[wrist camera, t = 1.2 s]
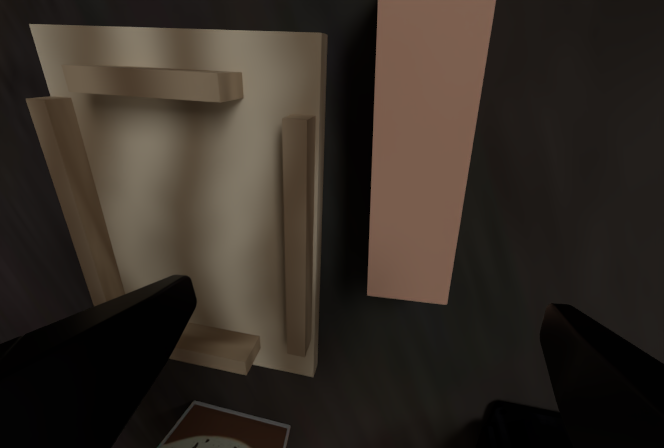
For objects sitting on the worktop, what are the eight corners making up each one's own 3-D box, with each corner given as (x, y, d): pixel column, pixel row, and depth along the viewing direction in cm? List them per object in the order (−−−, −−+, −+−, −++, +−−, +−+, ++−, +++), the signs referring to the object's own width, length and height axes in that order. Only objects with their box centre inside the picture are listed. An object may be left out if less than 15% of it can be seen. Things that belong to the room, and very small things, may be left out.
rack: (327, 35, 16) (307, 27, 13) (317, 364, 26) (304, 406, 23) (50, 26, 19) (-23, 18, 16) (133, 327, 29) (98, 359, 25)
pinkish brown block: (480, -16, 15) (502, -42, 11) (440, 263, 20) (446, 304, 17) (386, -10, 15) (379, -33, 12) (374, 257, 21) (367, 295, 18)
